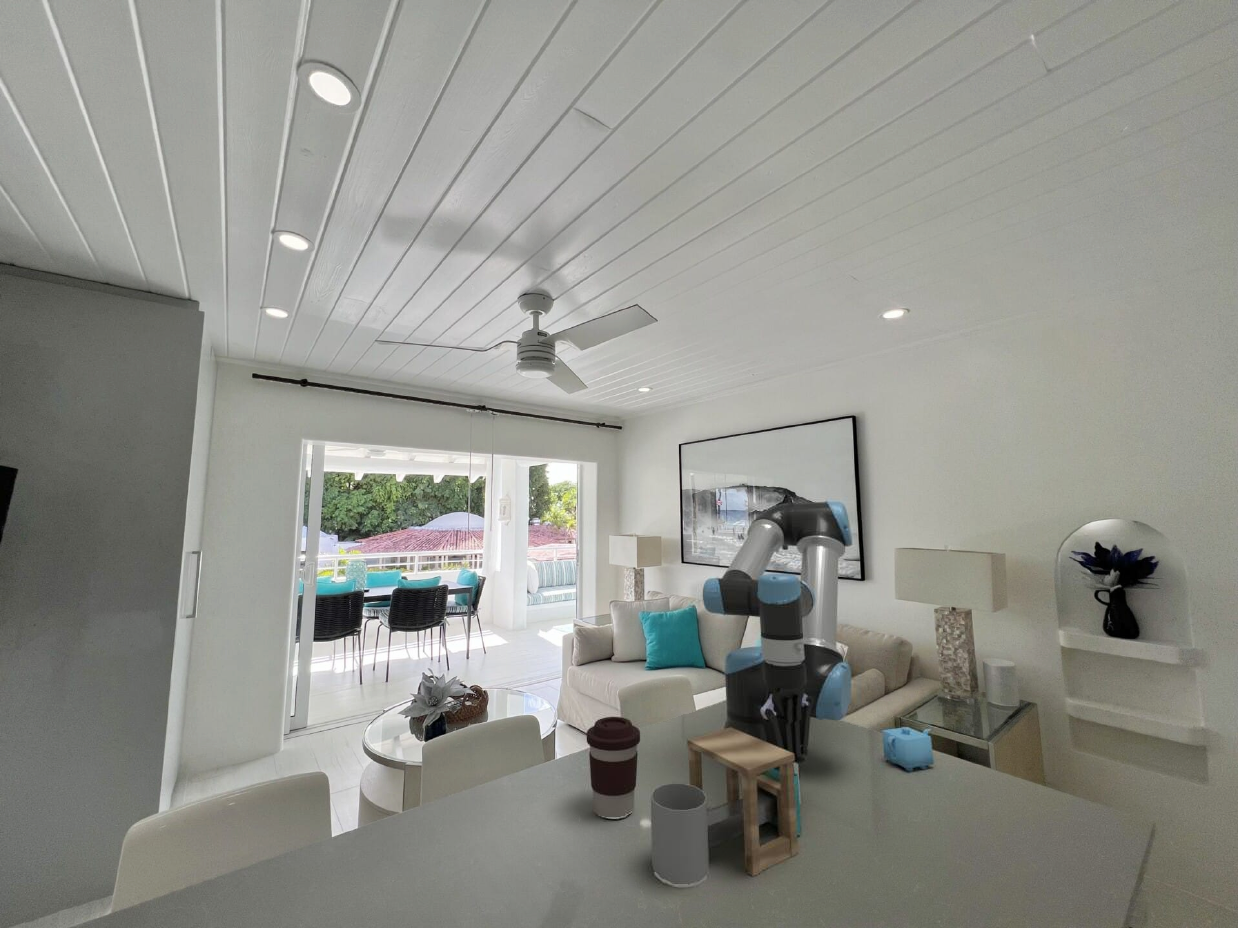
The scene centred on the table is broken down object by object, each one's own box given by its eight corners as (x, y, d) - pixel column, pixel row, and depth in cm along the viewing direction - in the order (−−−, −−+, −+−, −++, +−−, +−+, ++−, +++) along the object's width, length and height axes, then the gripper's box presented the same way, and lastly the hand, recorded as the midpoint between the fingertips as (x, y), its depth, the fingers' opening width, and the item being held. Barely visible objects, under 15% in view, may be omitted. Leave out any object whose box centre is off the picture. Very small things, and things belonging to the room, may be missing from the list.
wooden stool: (689, 832, 85) (687, 739, 87) (745, 809, 92) (741, 724, 94) (753, 877, 73) (748, 769, 76) (811, 847, 80) (805, 749, 83)
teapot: (921, 755, 115) (918, 719, 116) (946, 766, 109) (942, 729, 110) (879, 762, 111) (876, 725, 112) (901, 774, 105) (898, 735, 107)
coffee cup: (649, 803, 94) (647, 717, 97) (627, 830, 86) (626, 735, 88) (601, 792, 99) (601, 710, 101) (576, 817, 90) (576, 727, 92)
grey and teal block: (763, 812, 90) (761, 757, 92) (801, 833, 84) (798, 774, 85) (686, 845, 81) (684, 784, 82) (721, 872, 74) (719, 805, 75)
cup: (703, 893, 70) (701, 814, 72) (646, 881, 73) (645, 805, 74) (712, 857, 78) (710, 787, 80) (660, 847, 81) (659, 779, 82)
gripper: (776, 670, 86) (786, 822, 82) (822, 659, 93) (833, 799, 89) (743, 662, 92) (751, 802, 89) (789, 652, 99) (797, 782, 96)
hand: (792, 800), depth 89 cm, fingers closed
